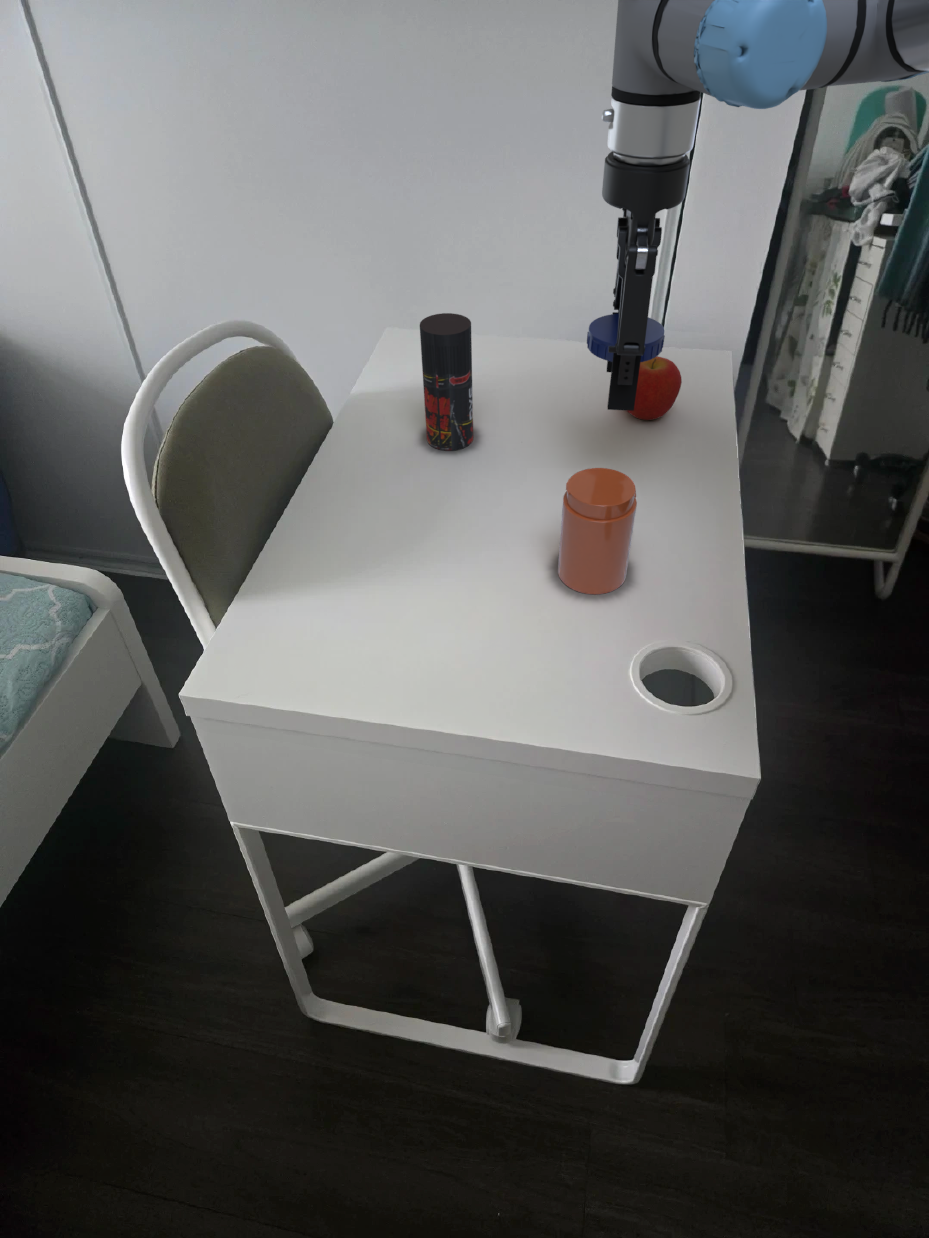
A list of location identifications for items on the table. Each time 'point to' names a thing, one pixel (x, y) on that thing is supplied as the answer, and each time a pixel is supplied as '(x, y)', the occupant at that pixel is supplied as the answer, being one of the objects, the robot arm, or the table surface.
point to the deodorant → (447, 380)
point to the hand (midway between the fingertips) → (619, 388)
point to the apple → (656, 388)
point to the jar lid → (606, 335)
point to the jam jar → (596, 530)
